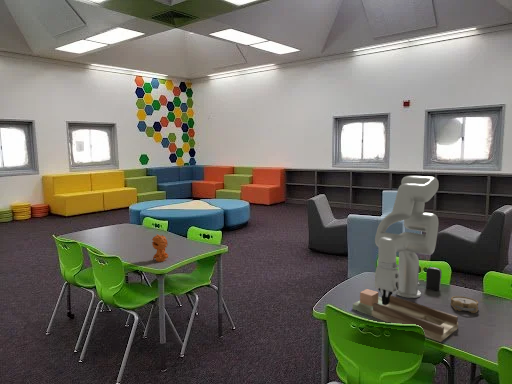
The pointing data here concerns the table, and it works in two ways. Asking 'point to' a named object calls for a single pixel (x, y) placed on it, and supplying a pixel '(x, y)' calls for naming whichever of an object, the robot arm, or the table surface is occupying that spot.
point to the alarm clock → (464, 304)
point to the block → (369, 297)
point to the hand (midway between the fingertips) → (385, 303)
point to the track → (412, 316)
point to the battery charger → (433, 278)
